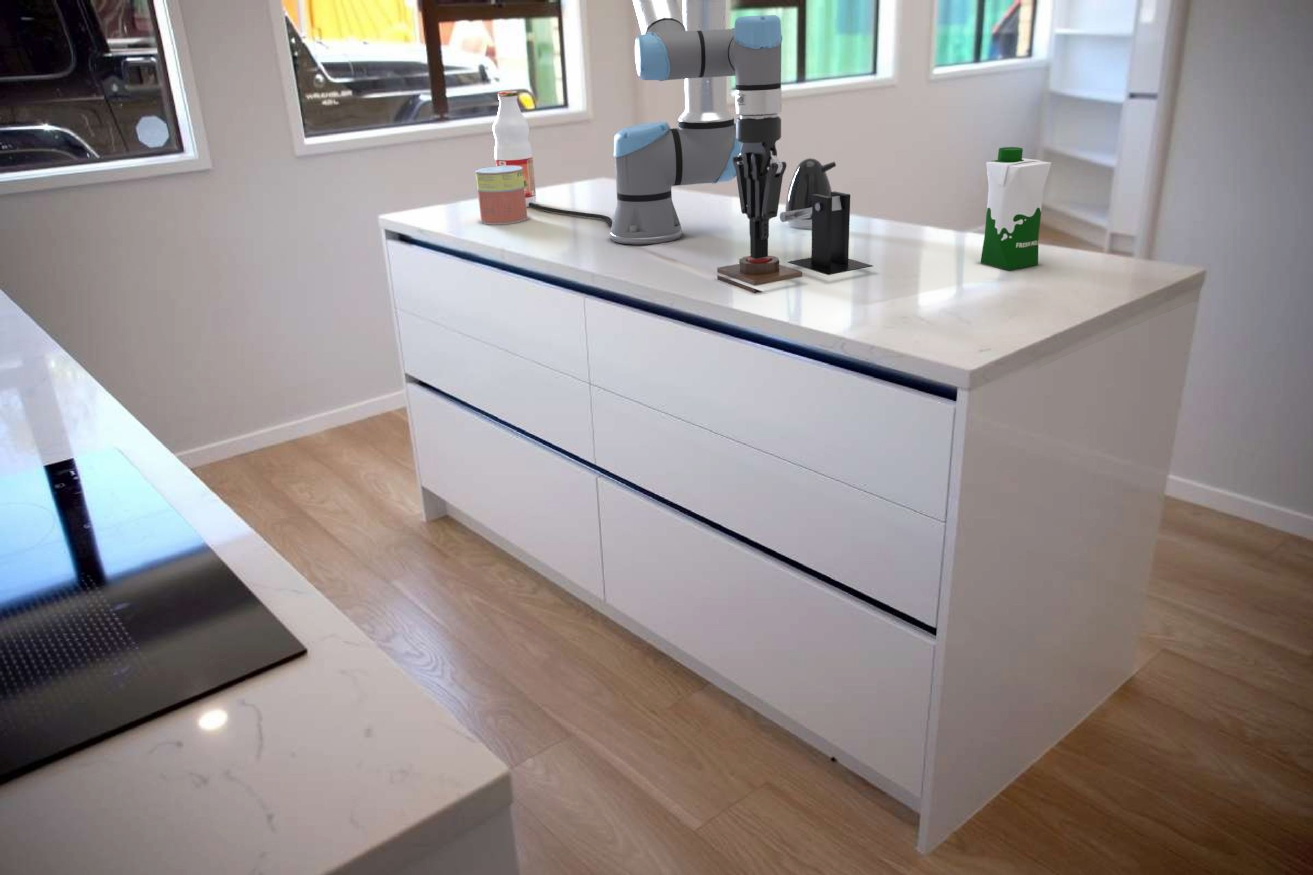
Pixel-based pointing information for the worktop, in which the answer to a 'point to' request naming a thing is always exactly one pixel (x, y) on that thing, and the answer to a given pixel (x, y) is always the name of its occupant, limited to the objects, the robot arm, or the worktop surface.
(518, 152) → the fruit juice
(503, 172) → the canned food
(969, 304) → the worktop surface
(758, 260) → the button
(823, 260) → the black lever stand
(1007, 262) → the milk carton
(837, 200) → the tap lever
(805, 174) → the pump dispenser
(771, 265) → the button box
